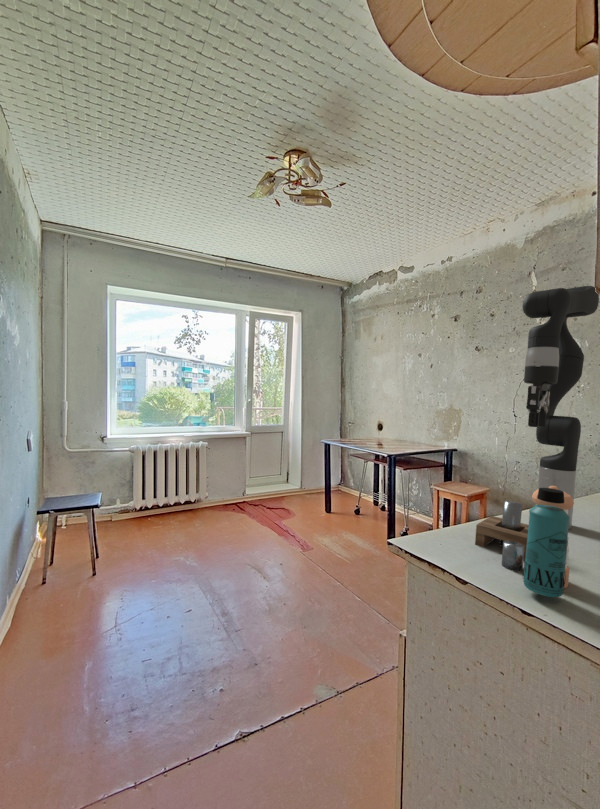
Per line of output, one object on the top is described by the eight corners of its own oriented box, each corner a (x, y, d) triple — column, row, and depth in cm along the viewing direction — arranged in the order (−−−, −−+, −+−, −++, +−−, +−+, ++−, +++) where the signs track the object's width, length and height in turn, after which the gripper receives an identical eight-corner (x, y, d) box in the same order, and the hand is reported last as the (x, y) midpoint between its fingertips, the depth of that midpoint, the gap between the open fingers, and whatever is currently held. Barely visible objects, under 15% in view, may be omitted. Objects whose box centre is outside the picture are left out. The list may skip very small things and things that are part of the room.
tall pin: (501, 541, 97) (506, 499, 96) (519, 546, 94) (524, 503, 94) (497, 545, 94) (502, 501, 93) (515, 551, 91) (520, 506, 91)
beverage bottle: (513, 590, 71) (521, 485, 71) (538, 585, 73) (546, 484, 73) (547, 608, 65) (555, 494, 65) (572, 603, 67) (581, 492, 67)
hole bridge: (490, 533, 102) (491, 515, 102) (541, 548, 94) (543, 528, 94) (475, 544, 93) (476, 524, 93) (530, 561, 85) (531, 539, 85)
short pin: (504, 561, 84) (506, 539, 84) (524, 567, 82) (526, 544, 82) (499, 566, 81) (500, 543, 81) (519, 573, 79) (521, 549, 79)
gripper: (531, 368, 107) (527, 425, 108) (518, 363, 97) (513, 425, 97) (563, 368, 102) (558, 427, 102) (553, 362, 92) (548, 428, 92)
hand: (536, 426), depth 100 cm, fingers open, 8 cm apart
